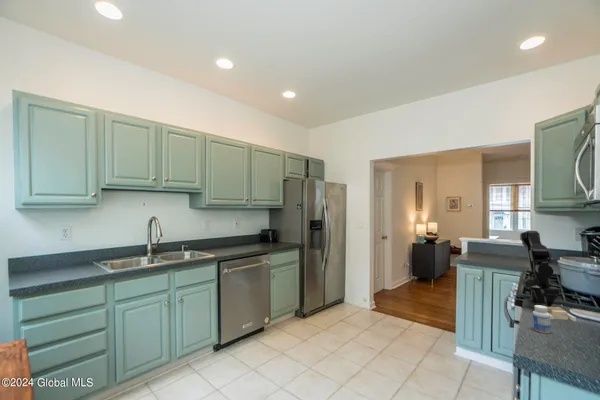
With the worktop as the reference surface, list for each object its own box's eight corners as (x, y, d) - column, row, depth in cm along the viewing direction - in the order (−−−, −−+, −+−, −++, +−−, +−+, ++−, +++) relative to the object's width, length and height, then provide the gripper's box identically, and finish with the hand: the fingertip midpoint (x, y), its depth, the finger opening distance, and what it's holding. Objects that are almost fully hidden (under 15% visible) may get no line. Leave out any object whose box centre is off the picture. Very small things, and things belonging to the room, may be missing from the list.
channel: (537, 310, 136) (537, 307, 136) (560, 312, 134) (559, 308, 134) (551, 319, 125) (550, 316, 125) (576, 321, 122) (575, 317, 122)
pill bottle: (534, 327, 117) (532, 303, 118) (551, 330, 114) (549, 305, 115) (534, 331, 113) (532, 307, 114) (552, 334, 110) (549, 309, 110)
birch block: (546, 313, 132) (546, 306, 133) (560, 315, 131) (559, 307, 131) (553, 319, 126) (553, 311, 126) (568, 320, 124) (567, 312, 124)
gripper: (514, 269, 151) (516, 298, 150) (530, 276, 134) (533, 309, 133) (539, 269, 148) (541, 299, 147) (559, 277, 130) (562, 311, 129)
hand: (543, 304), depth 139 cm, fingers open, 9 cm apart
